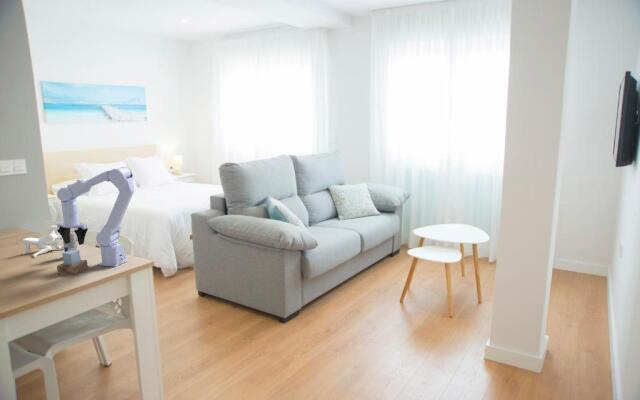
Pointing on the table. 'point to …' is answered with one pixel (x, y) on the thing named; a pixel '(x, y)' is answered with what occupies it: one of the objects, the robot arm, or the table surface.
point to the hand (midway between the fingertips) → (74, 243)
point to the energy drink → (71, 242)
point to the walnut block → (72, 268)
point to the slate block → (71, 257)
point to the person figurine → (44, 242)
